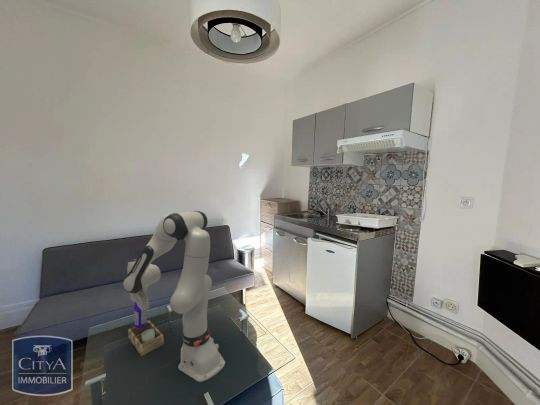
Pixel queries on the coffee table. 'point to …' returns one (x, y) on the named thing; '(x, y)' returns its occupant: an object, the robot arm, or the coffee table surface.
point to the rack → (136, 339)
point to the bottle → (139, 317)
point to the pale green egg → (148, 335)
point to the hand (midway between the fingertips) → (140, 311)
